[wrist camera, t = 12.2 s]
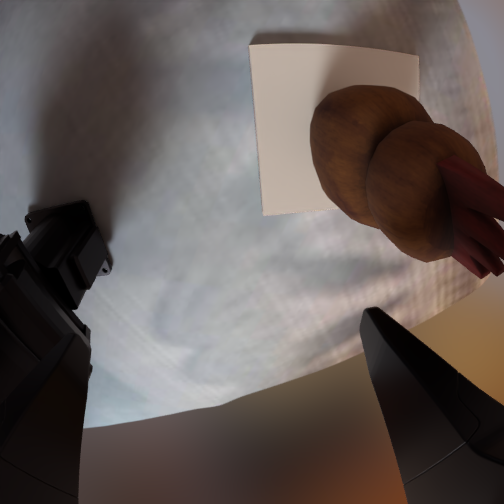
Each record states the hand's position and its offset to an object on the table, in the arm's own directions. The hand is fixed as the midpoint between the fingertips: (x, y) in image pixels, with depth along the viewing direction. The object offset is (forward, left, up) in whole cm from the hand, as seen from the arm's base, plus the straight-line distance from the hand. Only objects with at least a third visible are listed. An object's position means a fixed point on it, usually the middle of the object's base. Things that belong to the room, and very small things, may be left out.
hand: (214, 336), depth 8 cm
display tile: (+8, +3, -13) cm, 16 cm away
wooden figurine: (+8, +3, -12) cm, 15 cm away
